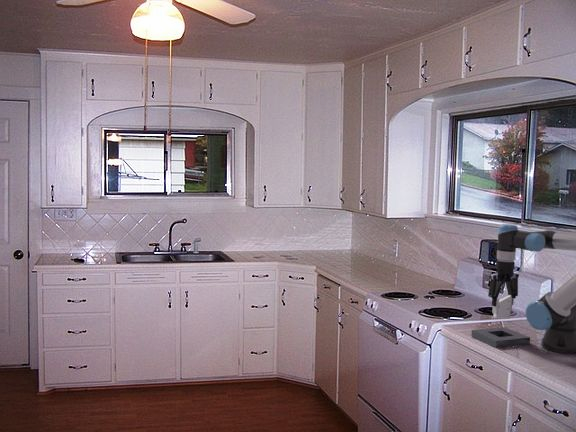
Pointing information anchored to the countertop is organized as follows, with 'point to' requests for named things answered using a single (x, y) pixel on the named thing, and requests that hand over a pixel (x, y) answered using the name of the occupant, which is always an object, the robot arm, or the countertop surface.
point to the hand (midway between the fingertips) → (501, 312)
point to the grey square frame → (500, 337)
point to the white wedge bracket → (504, 308)
